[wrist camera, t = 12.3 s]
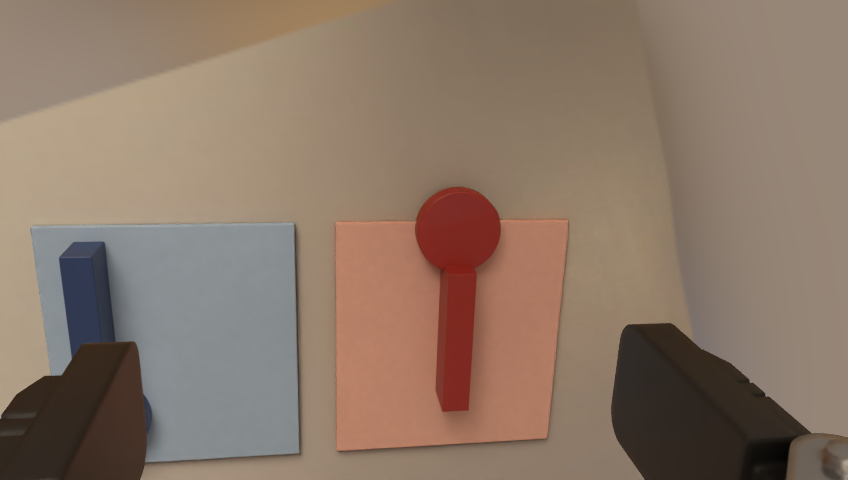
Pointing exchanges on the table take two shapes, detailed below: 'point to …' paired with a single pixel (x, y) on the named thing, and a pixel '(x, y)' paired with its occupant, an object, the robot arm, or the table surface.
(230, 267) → the blue mat
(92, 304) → the blue spoon
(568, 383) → the table surface
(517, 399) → the red mat
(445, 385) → the red spoon
